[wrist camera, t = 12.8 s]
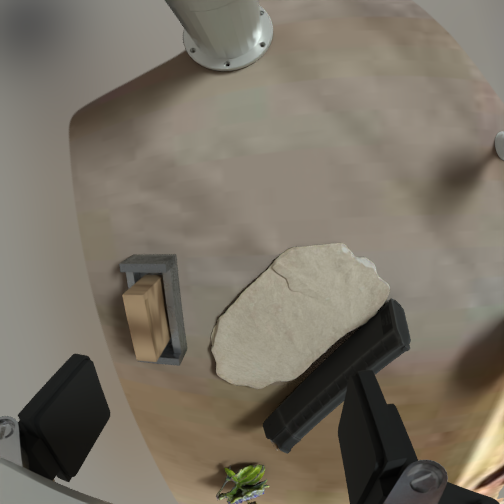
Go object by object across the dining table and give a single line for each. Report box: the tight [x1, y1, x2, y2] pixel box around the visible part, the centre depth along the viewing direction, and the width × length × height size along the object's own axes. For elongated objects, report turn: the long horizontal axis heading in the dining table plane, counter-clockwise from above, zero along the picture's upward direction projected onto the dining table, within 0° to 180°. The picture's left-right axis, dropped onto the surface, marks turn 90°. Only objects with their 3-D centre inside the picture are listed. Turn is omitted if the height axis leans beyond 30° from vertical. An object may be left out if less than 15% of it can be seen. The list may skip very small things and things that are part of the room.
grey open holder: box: [119, 254, 187, 366], centre depth 44 cm, size 16×7×5 cm, turn 2°
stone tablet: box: [211, 243, 390, 389], centre depth 45 cm, size 16×30×2 cm, turn 134°
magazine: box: [263, 298, 411, 454], centre depth 43 cm, size 17×3×30 cm
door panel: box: [122, 275, 171, 362], centre depth 42 cm, size 10×3×8 cm, turn 3°
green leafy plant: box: [216, 465, 269, 504], centre depth 53 cm, size 11×11×12 cm
